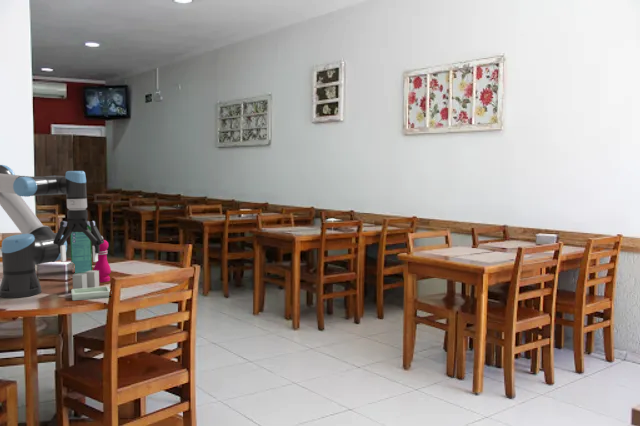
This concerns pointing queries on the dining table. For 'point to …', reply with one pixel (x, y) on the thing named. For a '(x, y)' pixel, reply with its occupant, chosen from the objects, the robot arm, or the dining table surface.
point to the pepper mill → (103, 263)
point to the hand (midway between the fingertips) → (79, 261)
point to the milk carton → (81, 251)
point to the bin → (90, 293)
